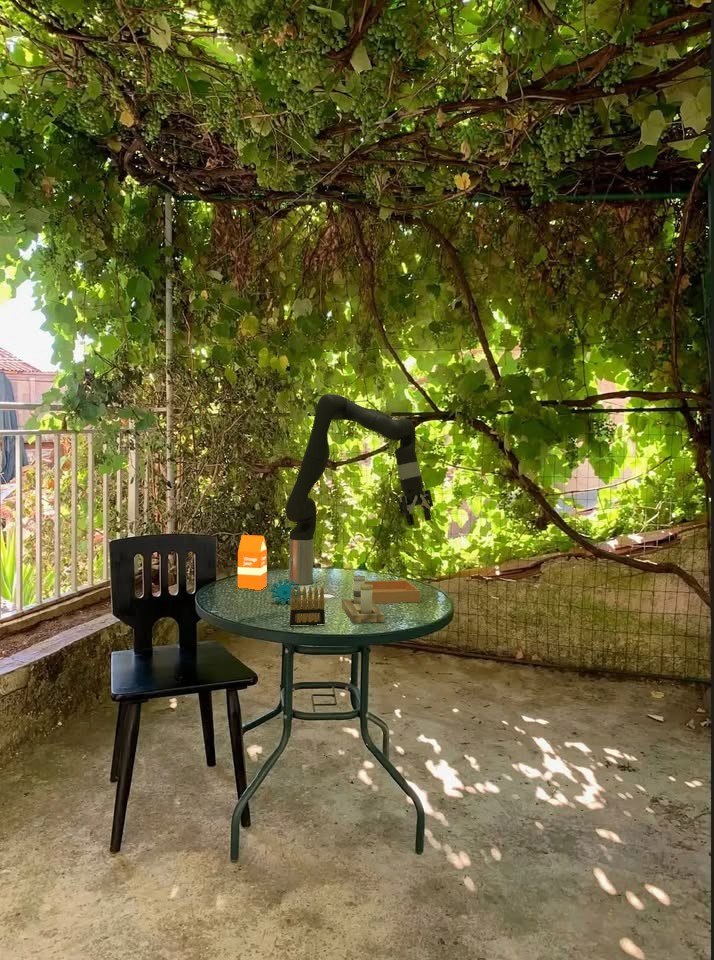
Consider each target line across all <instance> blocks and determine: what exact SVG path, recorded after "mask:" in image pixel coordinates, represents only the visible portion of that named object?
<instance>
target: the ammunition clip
mask: <svg viewBox="0 0 714 960" xmlns="http://www.w3.org/2000/svg"><path fill="white" fill-rule="evenodd" d="M291 587H292V591H291V600H290V604H289V605H290V606H289V611H290V612H289V624H290V625H317V624H325V625H326V616H325V614H326V613H325V612H326V611H325V604H326V603H325V601H326V600H325V591H324V590H325V589H324V587H323V585H322V586H321V587H320V589H318V587H317V586H315V588H314V591H313V588H312V586H309V588H308V594H307V588H306V586H303V589H302V590H301V587H300V586H298V590H296V589H294V587H295V586H291ZM295 591H297V599H296V600H295ZM301 591H303V595H302V596H301ZM319 591H320V592H319ZM307 595H308V596H307ZM290 625H289V626H290Z"/></svg>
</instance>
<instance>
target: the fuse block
mask: <svg viewBox="0 0 714 960" xmlns="http://www.w3.org/2000/svg"><path fill="white" fill-rule="evenodd" d="M342 607H343V608H342ZM341 608H342V609H343V611H344V610H345V611H344V612H345V614H346V613H347V614H346V615H348V616H349V617H348V616H347V617H348V619H349V618H350V619H349V620H350V622H351V621H352V622H351V623H352V624H353V623H355V624H364V623H363V622H366V623H365V624H368V623H367V622H384V623H385V613H384V612H383V611H382V610H381V608H380V607H379V606H378V605H377V604H375V603H374V601H373V600H372V614H360V610H361V604H353V598H352V599H351V598H347V599H346V598H344V599H341Z"/></svg>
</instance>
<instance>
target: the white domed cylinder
mask: <svg viewBox="0 0 714 960" xmlns="http://www.w3.org/2000/svg"><path fill="white" fill-rule="evenodd" d="M352 580H353V590H352V592H353V594H352V595H353V598H352V599H353V604H361V589H360V585H361V584H364V583H365V581H366V576H365V575H360V574H359V575H353V577H352Z"/></svg>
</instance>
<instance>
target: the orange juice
mask: <svg viewBox="0 0 714 960" xmlns="http://www.w3.org/2000/svg"><path fill="white" fill-rule="evenodd" d="M267 551H268V549H267V544H266V540H265V536H264V535H250V534H241V536H240V541H239V547H238V550H237V588H238V587H239V588H248V589H255V590H261V589H263V588H264V587H266V586H267V579H268V578H267V576H268V573H267V572H268V569H267V567H268V565H267V564H268V561H267V560H268V559H267V558H268V556H267V555H268V553H267ZM266 588H267V587H266ZM264 589H265V588H264ZM264 589H263V590H264Z"/></svg>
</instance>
